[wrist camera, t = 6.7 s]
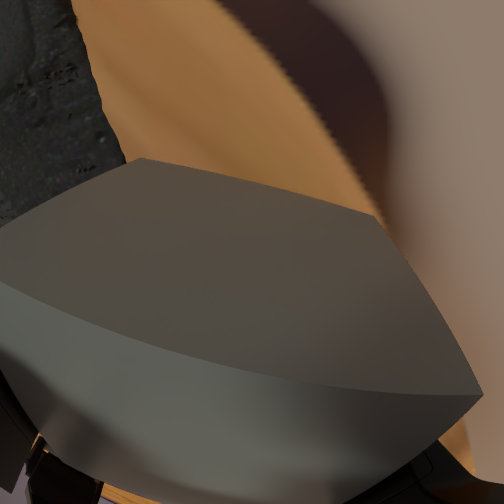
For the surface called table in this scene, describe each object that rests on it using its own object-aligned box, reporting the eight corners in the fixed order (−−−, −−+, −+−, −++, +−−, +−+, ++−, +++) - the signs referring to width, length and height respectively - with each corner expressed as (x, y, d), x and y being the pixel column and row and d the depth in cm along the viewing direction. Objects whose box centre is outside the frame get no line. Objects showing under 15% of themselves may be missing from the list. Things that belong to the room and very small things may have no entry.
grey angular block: (300, 375, 12) (297, 524, 6) (132, 332, 12) (62, 462, 6) (373, 216, 9) (483, 394, 3) (140, 157, 9) (-43, 256, 3)
